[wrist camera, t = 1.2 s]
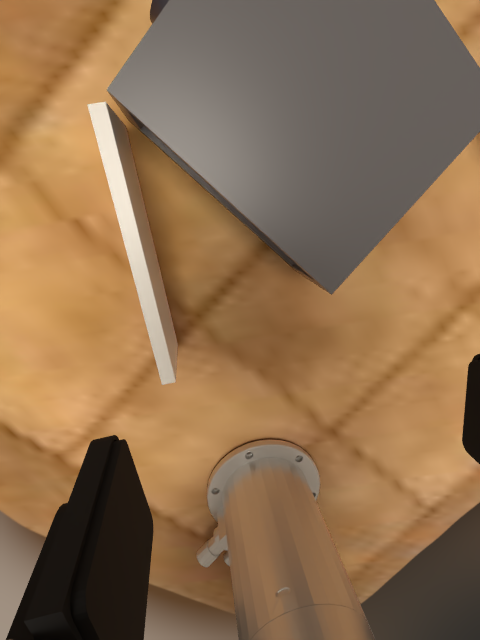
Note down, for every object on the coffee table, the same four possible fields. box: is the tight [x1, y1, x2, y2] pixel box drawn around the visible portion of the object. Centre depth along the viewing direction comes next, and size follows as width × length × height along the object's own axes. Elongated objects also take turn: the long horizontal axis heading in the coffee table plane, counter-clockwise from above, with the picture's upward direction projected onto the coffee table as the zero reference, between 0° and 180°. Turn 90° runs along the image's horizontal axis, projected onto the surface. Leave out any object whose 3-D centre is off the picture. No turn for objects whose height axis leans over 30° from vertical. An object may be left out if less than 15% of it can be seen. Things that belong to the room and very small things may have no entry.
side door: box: [87, 102, 178, 385], centre depth 26 cm, size 1×18×7 cm, turn 10°
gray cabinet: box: [107, 0, 480, 294], centre depth 25 cm, size 16×20×8 cm
